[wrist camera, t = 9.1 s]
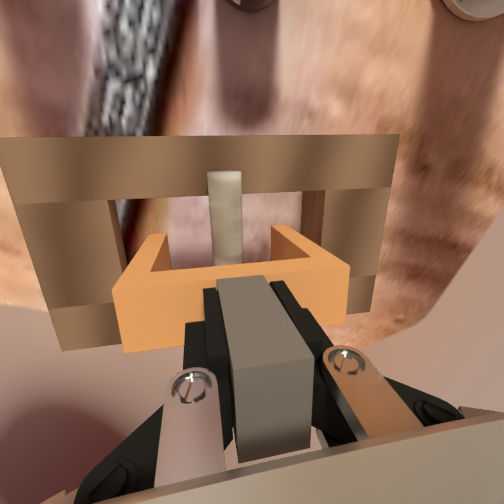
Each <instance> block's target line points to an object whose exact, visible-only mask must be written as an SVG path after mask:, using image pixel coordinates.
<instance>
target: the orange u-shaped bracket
mask: <svg viewBox="0 0 504 504" xmlns="http://www.w3.org/2000/svg"><path fill="white" fill-rule="evenodd" d="M349 274H350V265H348V264H347V263H345V262H343V261H342V260H340V259H339V258H337V257H336V256H334V255H333V254H331V253H329V252H328V251H326V250H325V249H323V248H322V247H320V246H318V245H317V244H315V243H314V242H312V241H311V240H309V239H308V238H306V237H304V236H303V235H301V234H300V233H298V232H297V231H295V230H293V229H292V228H290V227H289V226H287V225H272V226H271V261H266V262H255V263H244V264H233V265H222V266H212V267H201V268H190V269H179V270H171V262H170V253H169V245H168V237H167V233H156V234H149V236H148V237H147V239H146V240H145V241H144V243H143V244H142V246H141V247H140V249H139V250H138V252H137V253H136V255H135V256H134V258H133V259H132V261H131V262H130V263H129V265H128V266H127V268H126V269H125V271H124V272H123V274H122V275H121V277H120V278H119V280H118V281H117V283H116V284H115V285H114V287H113V288H112V294H113V299H114V304H115V310H116V315H117V320H118V325H119V330H120V335H121V340H122V345H123V350H124V354H128V353H135V352H143V351H150V350H157V349H164V348H171V347H178V346H184V338H185V323H188V322H196V321H204V320H205V317H204V301H203V288H213V287H216V290H217V291H219V297H220V303H221V308H222V314H223V320H224V326H225V332H226V338H227V344H228V350H229V359H230V375H231V393H232V412H233V428H234V435H235V441H236V448H237V456H238V463H244V462H248V461H252V460H257V459H261V458H266V457H271V456H275V455H280V454H284V453H289V452H293V451H298V450H303V449H307V448H310V437H311V418H312V397H313V377H314V356H313V354H312V352H311V351H310V349H309V348H308V346H307V344H306V343H305V341H304V340H303V338H302V336H301V335H300V333H299V332H298V330H297V328H296V327H295V325H294V324H293V322H292V320H291V319H290V317H289V316H288V314H287V312H286V311H285V309H284V308H283V306H282V304H281V303H280V301H279V300H278V298H277V296H276V295H275V293H274V292H273V290H272V288H271V287H270V285H269V283H270V281H280V280H283V281H284V282H285V283H286V285H287V286H288V288H289V289H290V291H291V292H292V294H293V296H294V297H295V299H296V300H297V302H298V303H299V305H300V306H301V308H308V310H309V311H310V312H311V314H312V315H313V316H314V318H315V319H316V321H317V322H318V324H319V325H320V326H321V327H322V326H329V325H336V324H343V323H345V321H346V309H347V297H348V285H349Z"/></svg>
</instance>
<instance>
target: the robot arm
mask: <svg viewBox="0 0 504 504" xmlns="http://www.w3.org/2000/svg"><path fill="white" fill-rule="evenodd" d="M443 2H444V3H445V5H446V7H447V8H448V9H450V10H451V11H452V12H453V13H454V14H455V15H457V16H458V17H460V18H462V19H464V20H469V21H484V20H488V19H491V18H494V17H496V16H498V15H500V14H502V13H504V0H443ZM269 285H270V287H271V288H272V290H273V292H274V293H275V295H276V296H277V298H278V300H279V301H280V303H281V304H282V306H283V308H284V309H285V311H286V312H287V314H288V316H289V317H290V319H291V320H292V322H293V324H294V325H295V327H296V328H297V330H298V332H299V333H300V335H301V336H302V338H303V340H304V341H305V343H306V344H307V346H308V348H309V349H310V351H311V352H312V354H313V356H314V377H313V397H312V418H311V425H312V426H313V427H315V428H316V433H317V437H318V439H319V441H320V444H321V446H322V450H317V451H313V452H308V453H304V454H299V455H295V456H291V457H286V458H281V459H277V460H272V461H268V462H263V463H259V464H255V465H250V466H246V467H242V468H237V469H233V470H229V471H226V468H225V457H224V450H225V449H226V447H227V446H228V445H229V444H230V442H231V441H232V439H233V432H232V427H233V412H232V393H231V375H230V359H229V350H228V344H227V338H226V332H225V326H224V320H223V314H222V308H221V303H220V297H219V291H217V290H216V287H213V288H203V301H204V317H205V320H204V321H196V322H188V323H185V338H184V361H183V371H181V372H179V373H177V374H176V375H175V376H174V377H172V378H171V380H170V381H169V383H168V384H167V388H166V391H165V400H164V404H163V405H162V406H161V407H160V408H159V409H158V410H157V411H156V412H155V413H154V414H152V415H151V416H150V417H149V418H148V419H147V420H146V421H145V422H144V423H143V424H142V425H140V426H139V427H138V428H137V429H136V430H135V431H134V432H133V433H132V434H131V435H130V436H128V437H127V438H126V439H125V440H124V441H123V442H122V443H121V444H120V445H119V446H117V447H116V448H115V449H114V450H113V451H112V452H111V453H110V454H109V455H108V456H107V457H105V458H104V459H103V460H102V461H101V462H100V463H99V464H98V465H97V466H96V467H95V468H93V470H92V471H91V472H90V473H89V474H88V475H87V476H86V477H85V478H84V480H83V482H82V483H81V485H80V487H79V488H77V489H76V490H74V491H72V492H70V493H69V494H66V491H65V490H64V491H62V492H60V493H58V494H57V495H55V496H53V497H51V498H49V499H48V500H46V501H44V502H42V503H40V504H504V412H496V411H490V410H483V409H475V408H468V407H462V406H459V408H458V410H457V409H456V408H455V407H453V406H452V405H450V404H449V403H448V402H446V401H443V400H442V399H439V398H437V397H434V396H432V395H430V394H427V393H424V392H422V391H420V390H417V389H414V388H412V387H409V386H407V385H404V384H402V383H399V382H397V381H394V380H392V379H389V378H387V377H384V376H382V375H381V373H380V372H379V371H378V370H377V369H376V368H375V366H374V365H373V364H372V363H371V361H370V360H369V359H368V358H367V357H366V356H365V355H364V354H363V353H362V352H360V351H359V350H357V349H355V348H352V347H349V346H343V345H339V346H334V345H333V344H332V342H331V341H330V339H329V338H328V336H327V335H326V334H325V332H324V331H323V329H322V328H321V326H320V325H319V324H318V322H317V321H316V319H315V318H314V316H313V315H312V314H311V312H310V311H309V310H308V308H301V306H300V305H299V303H298V302H297V300H296V299H295V297H294V296H293V294H292V292H291V291H290V289H289V288H288V286H287V285H286V283H285V282H284V281H283V280H280V281H270V283H269Z"/></svg>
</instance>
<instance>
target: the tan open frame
mask: <svg viewBox="0 0 504 504" xmlns="http://www.w3.org/2000/svg"><path fill="white" fill-rule="evenodd" d="M399 137H400V134H370V135H250V136H131V137H11V138H0V167H1V170H2V173H3V176H4V179H5V182H6V185H7V188H8V191H9V194H10V197H11V200H12V203H13V206H14V209H15V212H16V215H17V218H18V221H19V224H20V227H21V230H22V233H23V236H24V239H25V242H26V245H27V248H28V251H29V254H30V257H31V260H32V263H33V266H34V269H35V272H36V275H37V278H38V281H39V284H40V287H41V290H42V293H43V296H44V299H45V302H46V305H47V308H48V311H49V314H50V316H51V319H52V323H53V325H54V329H55V332H56V334H57V338H58V340H59V344H60V347H61V349H62V351H68V350H76V349H83V348H92V347H99V346H107V345H115V344H122V340H121V335H120V330H119V325H118V320H117V315H116V310H115V304H114V299H113V294H112V288H113V287H114V285H115V284H116V283H117V281H118V280H119V278H120V277H121V275H122V274H123V272H124V271H125V269H126V268H127V266H128V265H127V260H126V255H125V250H124V245H123V239H122V234H121V229H120V224H119V219H118V214H117V209H116V204H115V200H118V199H141V198H163V197H185V196H207V195H209V208H210V222H211V237H212V251H213V265H214V266H222V265H233V264H243V226H242V194H252V193H274V192H296V191H303V200H302V218H301V235H303V236H304V237H306V238H308V239H309V240H311V241H312V242H314V243H315V244H317V245H318V246H320V247H322V248H323V249H325V250H326V251H328V252H329V253H331V254H333V255H334V256H336V257H337V258H339V259H340V260H342V261H343V262H345V263H347V264H348V265H350V274H349V285H348V297H347V309H346V315H347V314H355V313H363V312H370V307H371V301H372V295H373V289H374V283H375V277H376V272H377V266H378V260H379V254H380V248H381V242H382V236H383V231H384V225H385V219H386V213H387V207H388V201H389V195H390V190H391V184H392V178H393V172H394V166H395V160H396V154H397V148H398V143H399Z"/></svg>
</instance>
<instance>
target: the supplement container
mask: <svg viewBox="0 0 504 504" xmlns="http://www.w3.org/2000/svg"><path fill="white" fill-rule="evenodd" d="M228 1H229V2H230V3H231V4H232V5H234V6H235V7H236V8H238V9H240V10H243V11H247V12H255V11H259V10H262V9H264V8H266V7H267V6H268V5H269V4H270V3H271V2H272V1H273V0H228Z"/></svg>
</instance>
